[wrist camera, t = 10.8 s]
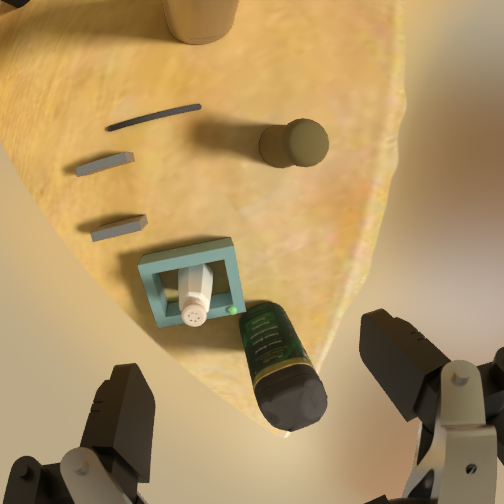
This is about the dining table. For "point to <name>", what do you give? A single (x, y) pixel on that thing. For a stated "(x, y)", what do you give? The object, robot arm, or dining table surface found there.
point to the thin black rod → (154, 116)
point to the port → (185, 258)
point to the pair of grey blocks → (119, 226)
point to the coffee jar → (281, 369)
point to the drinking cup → (16, 2)
